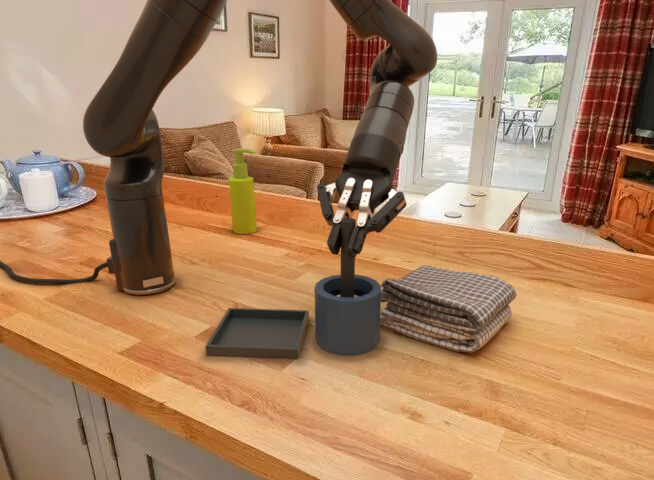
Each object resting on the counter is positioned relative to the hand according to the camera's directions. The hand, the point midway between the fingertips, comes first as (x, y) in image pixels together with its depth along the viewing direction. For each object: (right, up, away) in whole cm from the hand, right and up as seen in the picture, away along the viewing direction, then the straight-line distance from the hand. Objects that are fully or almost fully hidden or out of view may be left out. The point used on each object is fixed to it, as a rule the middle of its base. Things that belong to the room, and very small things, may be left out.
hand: (342, 253), depth 66 cm
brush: (+1, -9, +6) cm, 11 cm away
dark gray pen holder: (+1, -13, +8) cm, 15 cm away
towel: (+16, -11, +13) cm, 24 cm away
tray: (-12, -12, +8) cm, 19 cm away
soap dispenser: (-24, +9, +58) cm, 63 cm away
